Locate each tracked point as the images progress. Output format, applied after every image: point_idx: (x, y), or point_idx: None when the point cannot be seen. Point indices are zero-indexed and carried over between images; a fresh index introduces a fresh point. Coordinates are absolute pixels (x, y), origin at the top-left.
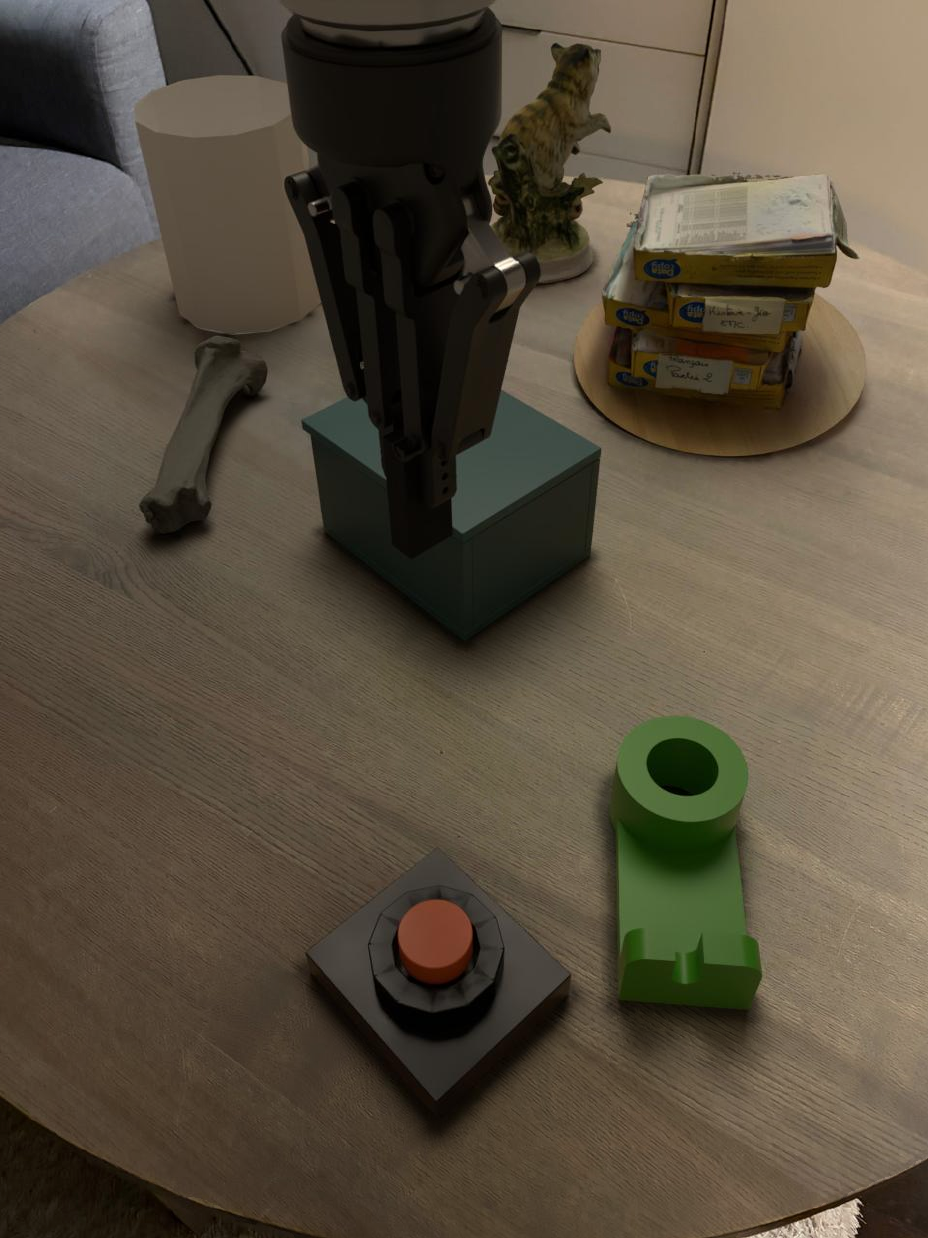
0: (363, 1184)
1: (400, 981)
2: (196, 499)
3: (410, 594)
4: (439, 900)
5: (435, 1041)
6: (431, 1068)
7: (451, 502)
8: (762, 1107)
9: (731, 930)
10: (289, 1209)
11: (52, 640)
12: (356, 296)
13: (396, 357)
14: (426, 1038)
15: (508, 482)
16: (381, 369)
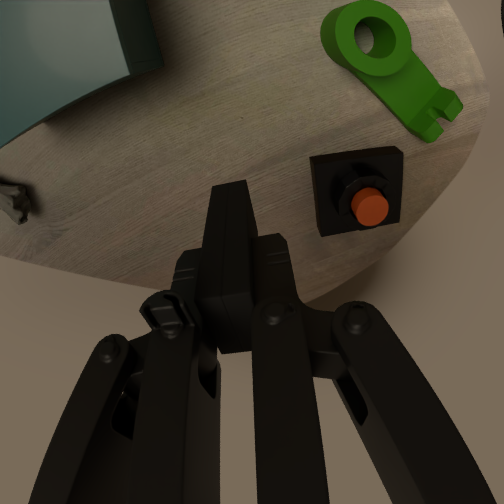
0: (388, 239)
1: None
2: (17, 196)
3: (111, 86)
4: (362, 202)
5: None
6: (390, 218)
7: (246, 203)
8: (461, 121)
9: (427, 77)
10: (377, 258)
11: (89, 263)
12: (105, 501)
13: (210, 455)
14: None
15: (88, 16)
16: (219, 453)
